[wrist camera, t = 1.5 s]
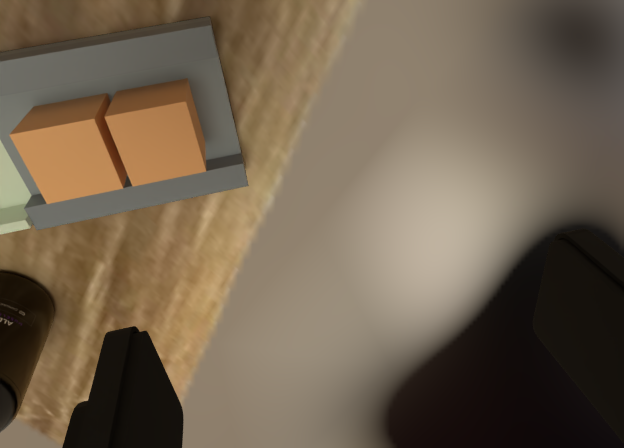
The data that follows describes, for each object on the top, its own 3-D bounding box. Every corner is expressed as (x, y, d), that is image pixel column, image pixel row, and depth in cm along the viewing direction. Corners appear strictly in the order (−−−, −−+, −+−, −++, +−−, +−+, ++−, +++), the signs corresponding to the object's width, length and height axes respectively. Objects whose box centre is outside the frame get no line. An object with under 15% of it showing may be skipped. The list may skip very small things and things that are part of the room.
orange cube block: (33, 106, 25) (9, 134, 22) (107, 92, 26) (93, 118, 22) (64, 170, 27) (47, 204, 24) (132, 156, 28) (123, 188, 25)
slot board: (-35, 58, 24) (-57, 71, 22) (209, 16, 25) (210, 25, 23) (47, 208, 30) (36, 230, 28) (245, 168, 31) (248, 185, 29)
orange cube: (116, 91, 26) (104, 116, 22) (187, 78, 26) (185, 101, 23) (140, 155, 28) (132, 186, 25) (205, 142, 28) (206, 171, 25)
